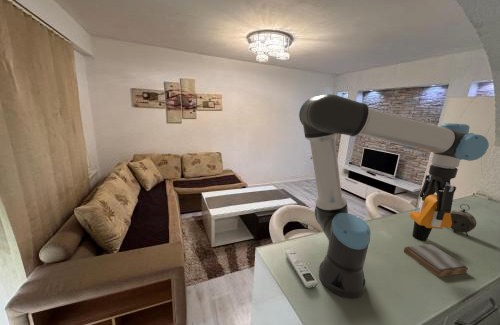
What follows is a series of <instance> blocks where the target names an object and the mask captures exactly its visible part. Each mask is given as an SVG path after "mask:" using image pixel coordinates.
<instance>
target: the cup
mask: <svg viewBox="0 0 500 325" xmlns="http://www.w3.org/2000/svg"><path fill="white" fill-rule="evenodd" d="M419 212H420V211H418V213H419ZM413 221H414V220H413ZM432 230H433V228H426V227H425V226H424V225H419V224H418V223H417V222H415V221H414V223H413V229H412V237H413V238H414V239H415V240H417V241H420V242H427V240H428V238H429V236H430V234H431V232H432Z"/></svg>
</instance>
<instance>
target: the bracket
mask: <svg viewBox="0 0 500 325" xmlns="http://www.w3.org/2000/svg"><path fill="white" fill-rule="evenodd" d="M437 202H438V200H437V194H434V195H429V196H427V197H426V198H425V200H424V203H425V205H426V207H425V208H424V210H423V211H422V212H421V213H418V212H419V211H418V212H416V211H415V212H414V211H410V213H409V218H410V219H412V221H415V222H417V223H418V224H419V225H424V226H425V227H426V228H432V229H437V230H443V229H444V228H448V229H451V225H452V220H451V213H445V214H444V217H443V220H442V222H441V226H440V227H434V226H431V221H432V218H433V214H434V211H435V210H437ZM434 209H435V210H434ZM440 209H441V208H440Z"/></svg>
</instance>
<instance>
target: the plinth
mask: <svg viewBox="0 0 500 325" xmlns="http://www.w3.org/2000/svg"><path fill="white" fill-rule="evenodd" d="M403 253H404V254H406V255H407V256H409V257H410V258H411V259H412V260H414V261H415V262H416V263H418V264H419V265H421V266H422V267H423V268H425V269H426V270H427V271H429V272H430V274H432V275H434V276H435V277H436V278H440V277H447V276H455V275H461V274H467V272H468V269H469V268H468V267H467V266H466V264H464V263H463V262H461V261H459V260H458V259H455V258H454V257H453V256H451V255H449V254H447V253H446V252H444V251H443V250H441V249H439V248H438V247H437V246H435V245H434V244H421V245H420V244H419V245H410V246H405V247H404V249H403Z"/></svg>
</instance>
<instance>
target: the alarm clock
mask: <svg viewBox="0 0 500 325" xmlns="http://www.w3.org/2000/svg"><path fill="white" fill-rule="evenodd" d="M464 205H465V206H467V207H468V209H465V208H462V206H464ZM459 207H460V209H453V210H451V220H452V225H451V228H450V229H451V230H453V231H452V232H453V233H454V234H455V233H456V232H457V233H464V234H466V236H467V237H469V234H468V233H469V232H471V231H472V230H474V229H475V228H476V226H477V220H476V218H475V216H474V215H473V214H471V213H470V212H467V211H469V210H470V209H471V208H470V207H471V206H469V205H468V204H466V203H462V204H460V205H459Z"/></svg>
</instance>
